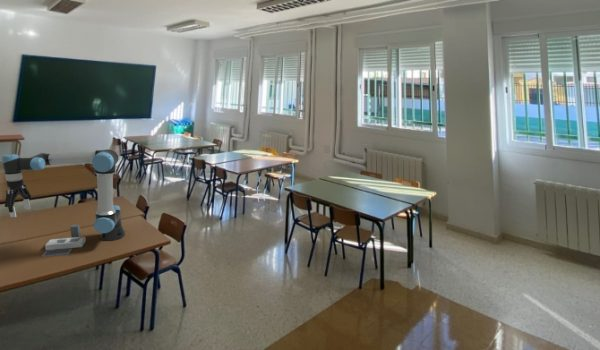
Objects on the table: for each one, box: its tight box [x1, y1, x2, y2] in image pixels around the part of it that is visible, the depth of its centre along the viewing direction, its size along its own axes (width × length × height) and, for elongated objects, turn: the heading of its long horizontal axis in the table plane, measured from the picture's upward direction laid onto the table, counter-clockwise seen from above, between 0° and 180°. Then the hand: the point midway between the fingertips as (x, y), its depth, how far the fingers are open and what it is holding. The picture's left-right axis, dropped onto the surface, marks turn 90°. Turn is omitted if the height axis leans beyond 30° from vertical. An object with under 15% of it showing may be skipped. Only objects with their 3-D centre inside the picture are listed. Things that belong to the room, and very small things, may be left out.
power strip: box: [44, 235, 87, 251], centre depth 209 cm, size 20×9×4 cm, turn 109°
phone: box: [41, 248, 73, 258], centre depth 200 cm, size 7×14×1 cm, turn 109°
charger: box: [69, 223, 82, 238], centre depth 219 cm, size 4×4×10 cm
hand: (20, 212), depth 194 cm, fingers open, 13 cm apart
